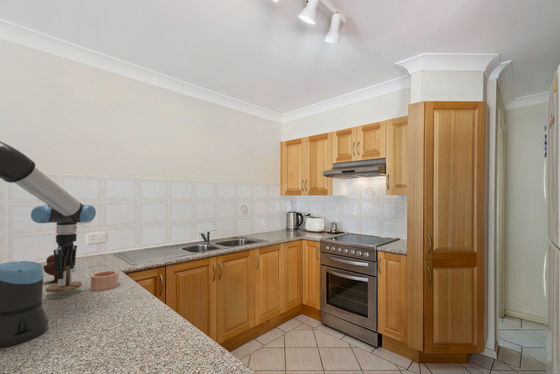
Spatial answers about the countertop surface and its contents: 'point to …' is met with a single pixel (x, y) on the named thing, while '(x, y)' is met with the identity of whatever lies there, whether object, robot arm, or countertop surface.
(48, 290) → the lid
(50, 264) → the brown tree figurine
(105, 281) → the bowl
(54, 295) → the trivet
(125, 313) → the countertop surface
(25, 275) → the robot arm
